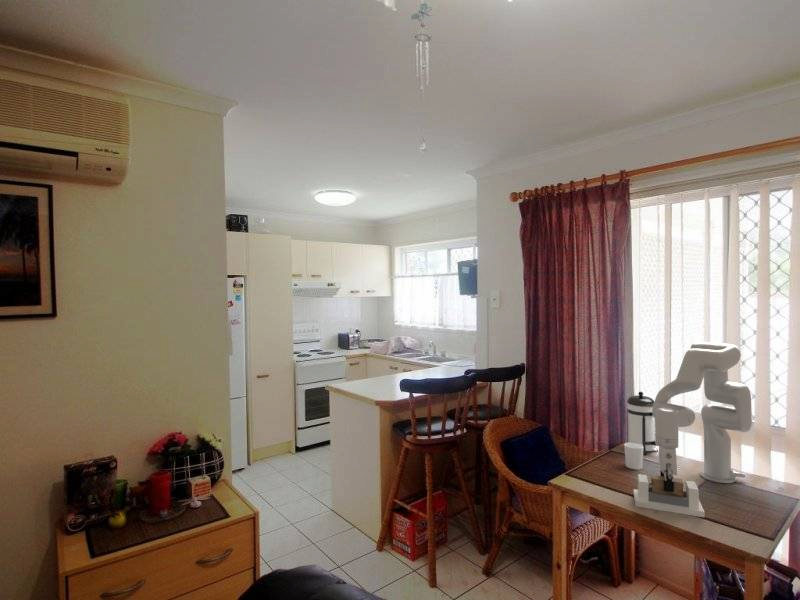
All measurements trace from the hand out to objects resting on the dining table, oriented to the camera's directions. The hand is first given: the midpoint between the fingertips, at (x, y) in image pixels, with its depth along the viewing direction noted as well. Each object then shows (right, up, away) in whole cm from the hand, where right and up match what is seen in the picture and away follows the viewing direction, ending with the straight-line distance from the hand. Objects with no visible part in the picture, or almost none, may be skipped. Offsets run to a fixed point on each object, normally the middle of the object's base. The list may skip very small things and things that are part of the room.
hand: (667, 486), depth 169 cm
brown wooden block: (0, -5, 0) cm, 5 cm away
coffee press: (+22, -6, +56) cm, 61 cm away
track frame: (0, -7, 0) cm, 7 cm away
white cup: (+7, -7, +37) cm, 38 cm away
